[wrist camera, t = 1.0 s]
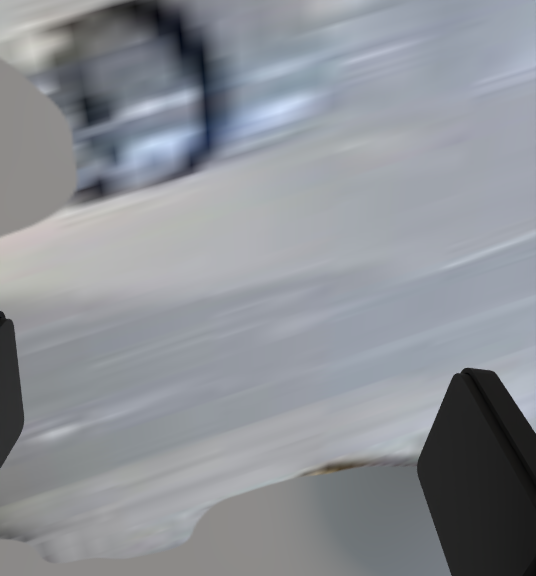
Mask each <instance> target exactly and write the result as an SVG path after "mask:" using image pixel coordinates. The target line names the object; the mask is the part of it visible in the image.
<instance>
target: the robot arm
mask: <svg viewBox="0 0 536 576" xmlns="http://www.w3.org/2000/svg"><path fill="white" fill-rule="evenodd" d="M23 425H24V412H23V403H22V394H21V385H20V376H19V367H18V359H17V350H16V341H15V332H14V325H13V322H12V320H10V319H6V318H5V315H4V313H3V312H1V311H0V468H1V466H2V465H3V463H4V461H5V460H6V458H7V456H8V455H9V453H10V451H11V450H12V448H13V446H14V445H15V443H16V441H17V439H18V438H19V436H20V434H21V432H22V429H23ZM417 472H418V477H419V480H420V483H421V486H422V489H423V492H424V495H425V498H426V501H427V504H428V507H429V510H430V513H431V516H432V519H433V522H434V525H435V528H436V531H437V534H438V536H439V540H440V543H441V546H442V549H443V551H444V554H445V557H446V560H447V563H448V566H449V569H450V572H451V575H452V576H536V433H535V432H534V430H533V429H532V427H531V426H530V424H529V423H528V421H527V420H526V418H525V417H524V415H523V414H522V412H521V411H520V409H519V408H518V406H517V405H516V403H515V402H514V400H513V399H512V397H511V395H510V394H509V392H508V391H507V389H506V388H505V386H504V385H503V383H502V382H501V380H500V379H499V377H498V376H497V374H496V373H495V372H493V371H490V370H482V369H474V368H464V369H463V370H462V371H461V373H457V374H455V375H454V376H453V378H452V380H451V382H450V385H449V387H448V389H447V392H446V394H445V397H444V399H443V401H442V404H441V406H440V409H439V411H438V413H437V416H436V418H435V421H434V423H433V426H432V428H431V430H430V433H429V435H428V438H427V440H426V442H425V445H424V447H423V450H422V452H421V454H420V457H419V460H418V464H417Z"/></svg>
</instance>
